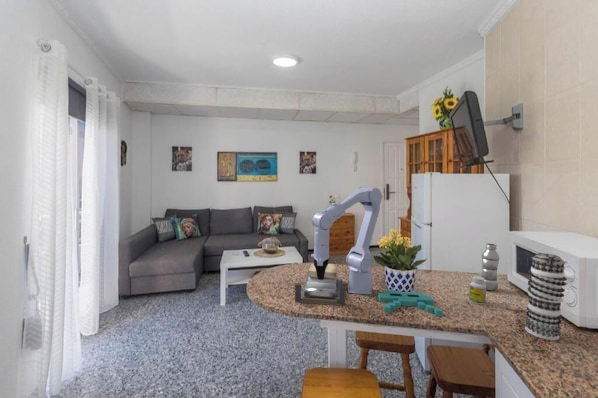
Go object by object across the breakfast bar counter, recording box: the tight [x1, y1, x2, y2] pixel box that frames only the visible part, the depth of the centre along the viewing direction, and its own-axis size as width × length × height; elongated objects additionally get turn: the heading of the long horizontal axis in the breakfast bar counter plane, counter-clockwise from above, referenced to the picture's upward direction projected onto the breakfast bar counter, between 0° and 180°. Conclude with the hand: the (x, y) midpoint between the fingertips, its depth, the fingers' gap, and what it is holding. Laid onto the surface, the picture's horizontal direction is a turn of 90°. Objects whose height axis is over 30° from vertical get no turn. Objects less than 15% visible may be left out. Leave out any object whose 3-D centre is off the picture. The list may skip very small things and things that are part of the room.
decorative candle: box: [524, 252, 568, 341], centre depth 91 cm, size 9×9×25 cm
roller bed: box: [294, 276, 346, 306], centre depth 123 cm, size 19×28×6 cm
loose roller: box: [304, 287, 336, 300], centre depth 114 cm, size 12×4×4 cm, turn 81°
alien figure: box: [377, 288, 444, 317], centre depth 113 cm, size 20×2×20 cm
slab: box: [308, 262, 338, 278], centre depth 130 cm, size 12×12×2 cm
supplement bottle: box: [468, 275, 487, 306], centre depth 114 cm, size 5×5×10 cm
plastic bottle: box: [480, 243, 500, 292], centre depth 126 cm, size 6×7×20 cm
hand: (320, 278), depth 113 cm, fingers closed
